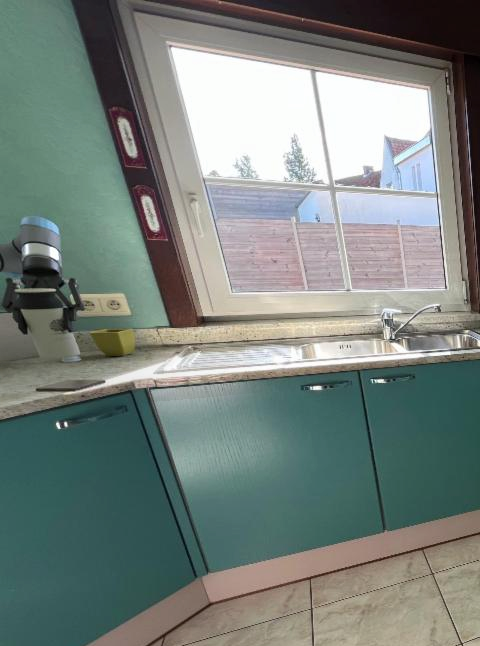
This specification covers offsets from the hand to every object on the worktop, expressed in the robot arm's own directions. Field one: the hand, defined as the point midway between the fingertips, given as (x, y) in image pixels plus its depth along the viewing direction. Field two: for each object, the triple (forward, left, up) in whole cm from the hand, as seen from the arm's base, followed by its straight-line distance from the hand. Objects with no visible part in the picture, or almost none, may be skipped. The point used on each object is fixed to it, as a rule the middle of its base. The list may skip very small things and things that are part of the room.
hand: (46, 330), depth 132 cm
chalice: (-32, +39, -17) cm, 53 cm away
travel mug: (-2, +3, -8) cm, 9 cm away
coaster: (-2, +3, -16) cm, 17 cm away
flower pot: (-24, +49, -17) cm, 57 cm away
